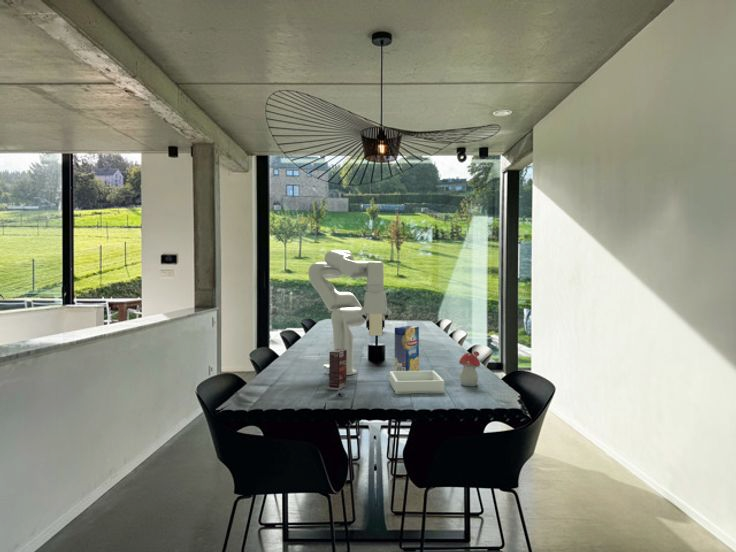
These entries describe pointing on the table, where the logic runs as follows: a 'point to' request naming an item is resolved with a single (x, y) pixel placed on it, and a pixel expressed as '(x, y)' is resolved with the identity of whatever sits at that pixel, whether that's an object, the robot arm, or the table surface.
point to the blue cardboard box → (407, 348)
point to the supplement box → (337, 369)
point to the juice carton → (375, 324)
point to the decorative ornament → (469, 369)
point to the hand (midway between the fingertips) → (375, 329)
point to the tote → (416, 382)
